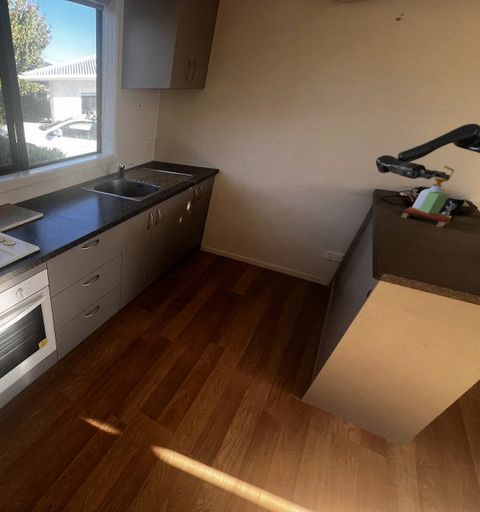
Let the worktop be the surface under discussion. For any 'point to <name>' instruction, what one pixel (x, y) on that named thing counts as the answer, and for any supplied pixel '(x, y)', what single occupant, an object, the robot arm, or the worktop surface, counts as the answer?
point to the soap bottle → (430, 190)
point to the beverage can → (452, 206)
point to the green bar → (433, 202)
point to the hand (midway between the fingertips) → (439, 177)
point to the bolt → (467, 209)
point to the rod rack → (427, 216)
